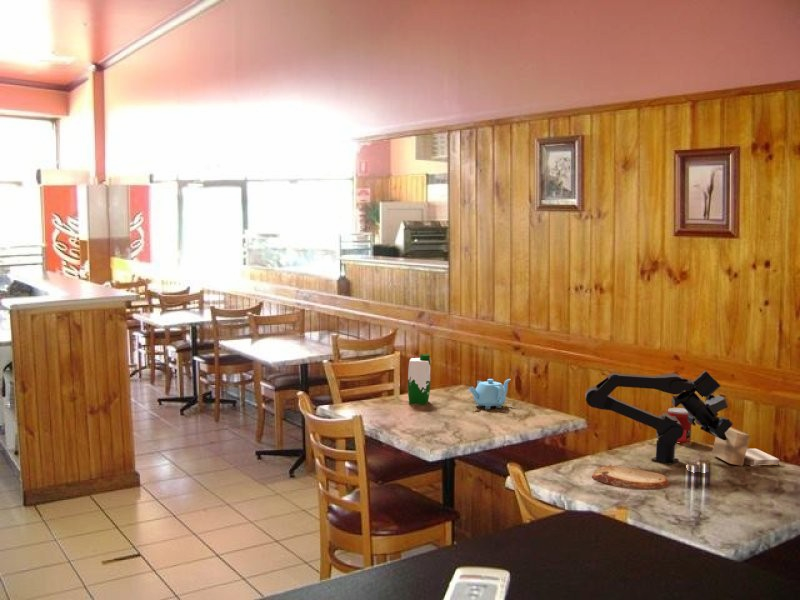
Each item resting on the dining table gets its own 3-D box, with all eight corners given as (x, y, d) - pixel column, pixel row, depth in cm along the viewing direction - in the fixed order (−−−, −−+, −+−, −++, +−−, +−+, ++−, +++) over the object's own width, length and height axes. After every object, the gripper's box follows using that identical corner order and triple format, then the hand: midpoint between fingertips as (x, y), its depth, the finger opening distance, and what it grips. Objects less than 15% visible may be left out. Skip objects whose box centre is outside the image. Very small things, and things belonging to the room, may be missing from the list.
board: (750, 466, 272) (750, 460, 272) (727, 455, 285) (728, 449, 284) (779, 465, 274) (779, 459, 273) (755, 454, 286) (755, 448, 286)
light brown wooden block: (730, 463, 272) (737, 432, 271) (711, 454, 282) (718, 424, 282) (742, 465, 272) (750, 435, 272) (723, 456, 283) (731, 427, 283)
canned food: (691, 444, 298) (693, 413, 297) (667, 442, 299) (669, 411, 298) (688, 438, 305) (690, 408, 304) (665, 437, 307) (667, 406, 306)
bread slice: (674, 486, 251) (675, 473, 250) (629, 495, 242) (629, 482, 241) (629, 470, 266) (630, 458, 266) (585, 478, 257) (586, 465, 257)
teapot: (477, 401, 361) (478, 374, 360) (510, 404, 356) (511, 377, 355) (467, 408, 347) (468, 380, 345) (500, 412, 342) (501, 383, 341)
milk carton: (428, 405, 351) (429, 356, 349) (406, 404, 352) (407, 355, 350) (430, 400, 359) (431, 353, 357) (409, 399, 361) (410, 352, 359)
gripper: (728, 394, 265) (759, 428, 268) (697, 382, 283) (727, 414, 286) (703, 419, 264) (734, 454, 267) (674, 406, 282) (703, 438, 285)
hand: (725, 439), depth 276 cm, fingers closed
